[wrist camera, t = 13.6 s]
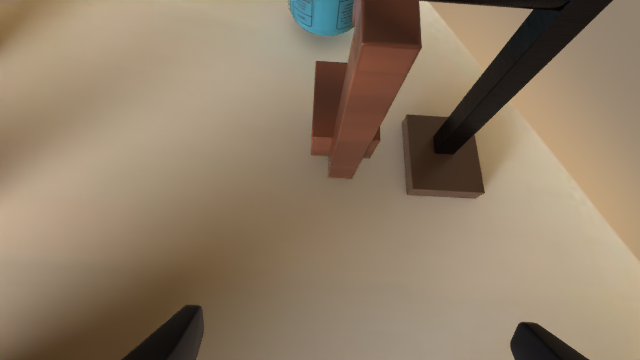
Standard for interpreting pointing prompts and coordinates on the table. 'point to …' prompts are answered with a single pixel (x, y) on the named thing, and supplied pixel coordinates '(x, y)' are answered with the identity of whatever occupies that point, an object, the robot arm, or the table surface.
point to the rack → (488, 97)
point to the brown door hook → (363, 83)
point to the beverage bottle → (323, 15)
